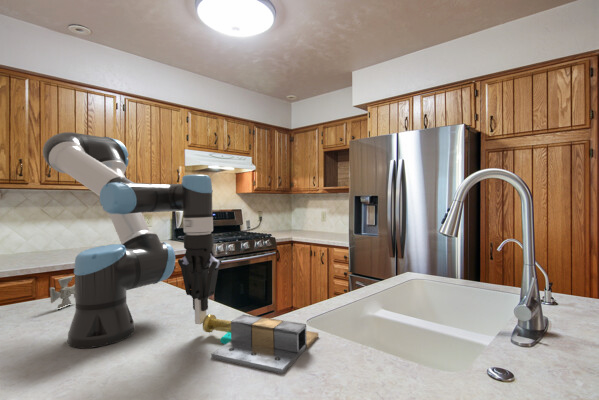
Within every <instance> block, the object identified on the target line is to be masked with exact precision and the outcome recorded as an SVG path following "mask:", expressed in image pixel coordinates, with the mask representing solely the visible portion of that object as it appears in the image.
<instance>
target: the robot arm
mask: <svg viewBox="0 0 599 400" xmlns="http://www.w3.org/2000/svg"><path fill="white" fill-rule="evenodd" d="M42 155H43V158H44V161H45V163H46V164H47V165H48V166H49V167H50V168H52V169H53V170H54V171H56V172H57V173H61V174H66V175H68V176H70V177H71V178H72V179H74V180H75V181H77V182H78V183H80V184H82V186H84V187H85V188H87V189H88V190H89V191H91V192H93V193H94V194H96V195H97V196H99V202H100V205H101V206H102V210H103V211H105V213H107V214H108V215H109V217H110V220H111V222H112V224H113V226H114V229H115V232H116V234H117V236H118V239H119V241H120V244H119V243H118V244H117V243H114V244H113V243H112V244H107V245H100V246H95V247H91V248H88V249H84V250H82V251H81V252H79V253H78V254H77V255H76V256H75V259H74V267H73V268H74V269H73V274H74V284H75V298H74V299H75V301H74V302H75V311H74V315H73V317H72V321H71V324H70V327H69V330H68V332H67V344H68V346H70V347H72V348H77V349H79V348H80V349H87V348H88V349H89V348H97V347H103V346H109V345H111V344H114V343H117V342H120V341H123V340H124V339H127V338H129V337H130V336H132V334H134V333H135V321H134V319H133V316H132V314H131V311H130V308H129V305H128V304H127V291H129V290H133V289H137V288H141V287H146V286H149V285H155V284H158V283H159V282H163V281H166V280H167V279H168V278H170V276H171V275H172V274H173V273H174V269H175V265H176V253H175V251H174V250H175V249H174V248H173V246H172V245H171V244H170V243H167V242H164V241H162V242H161V240H160V237H159V235H158V234H157V233H155V232H152V231H150V228H149V226H148V224H147V222H146V220H145V218H144V215H143V213H161V212H163V213H164V212H167V213H168V212H182V218H183V223H182V224H183V233H184V236H183V248H184V249H185V252H184V256H183V257H182V258H178V260H177V263H178V265H179V267H180V270H181V274H182V279H183V284H184V288H185V294H186V295H187V296H190V297H191V298H192V308H193V311H194V323H195V325H201V324H202V325H203V321H204V319H205V317H206V316H207V310H209V298H210V297H212V296H214V295H215V293H216V292H215V291H216V285H217V279H218V274H219V268H220V267H221V265H222V260H221V259H217V258H215V257H214V256H215V255H214V254H215V253H214V252H213V247H214V234H213V233H212V232H213V231H214V217H213V215H214V214H213V190H214V189H213V185H212V178H211V177H210V175H207V174H187V175H183V176H182V179H181V183H173V184H172V183H171V184H168V183H143V182H142V183H140V182H138V183H137V182H133V181H132V180H130V179H128V178H126V176H125V174H126V171H127V167H128V165H129V158H128V157H129V152H128V149H127V147H126V146H125V144H124V143H123V142H122V141H120V140H119V139H116V138H113V137H109V136H97V135H92V134H91V135H90V134H86V133H85V134H83V133H78V132H73V131H69V132H67V131H66V132H59V133H57V134H55V135H52V136H50V138H48V139H47V140H46V141H45V143H44V144H43V148H42Z"/></svg>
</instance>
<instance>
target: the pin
mask: <svg viewBox="0 0 599 400" xmlns="http://www.w3.org/2000/svg"><path fill="white" fill-rule="evenodd" d="M231 321H232V320H226V319H221V318H217V317H216V315H215V314H210V313H209V314H206V317H205V319H204V321H203V323H202V330H203V332H205V333H209V334H210V333H213V331H217V332H223V333H226V334H227V333H231Z"/></svg>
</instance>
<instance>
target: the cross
mask: <svg viewBox="0 0 599 400" xmlns="http://www.w3.org/2000/svg"><path fill="white" fill-rule="evenodd" d="M72 279H73V275H69V276H67V277H63V278H59V279H57V282H58V283H59V286H60V289H59V291H56V290H55V287H49V295H50V304H53V303H54V302H56V301H57V300H58V299H61V300H62V302H61V303H60V304H58V305H57V308H60V307H63V306H65V305H68V304H72V302H71V300H70V298H69V297H71V296H72V295H73V297H74V299H75V283H74V284H73V285H72V286H69V282H71V281H72Z"/></svg>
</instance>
